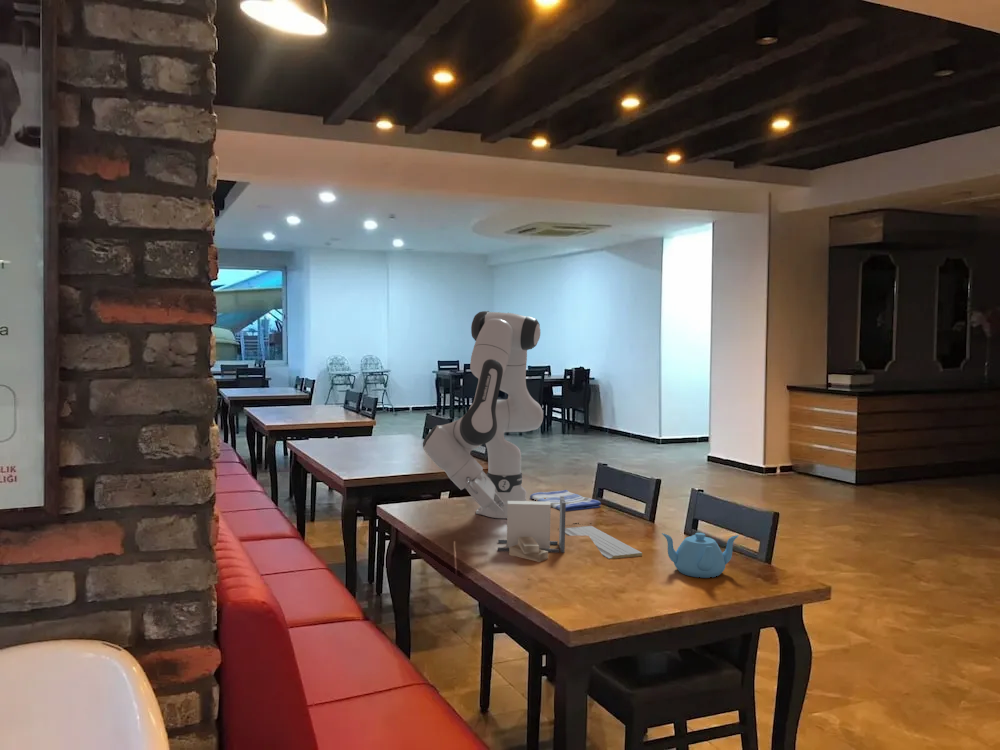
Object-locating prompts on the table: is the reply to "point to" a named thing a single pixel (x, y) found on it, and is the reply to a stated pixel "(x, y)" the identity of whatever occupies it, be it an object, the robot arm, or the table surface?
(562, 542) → the rack
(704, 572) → the teapot
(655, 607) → the table surface
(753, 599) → the table surface
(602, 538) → the baseboard molding
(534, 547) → the offcut top
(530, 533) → the off-white wooden block
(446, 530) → the table surface
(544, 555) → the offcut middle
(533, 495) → the dish towel
